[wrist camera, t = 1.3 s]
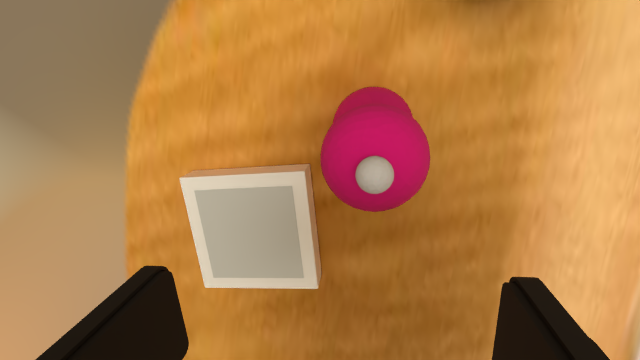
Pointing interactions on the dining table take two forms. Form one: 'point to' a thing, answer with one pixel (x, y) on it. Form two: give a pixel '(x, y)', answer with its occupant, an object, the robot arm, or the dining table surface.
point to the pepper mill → (375, 151)
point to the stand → (254, 226)
